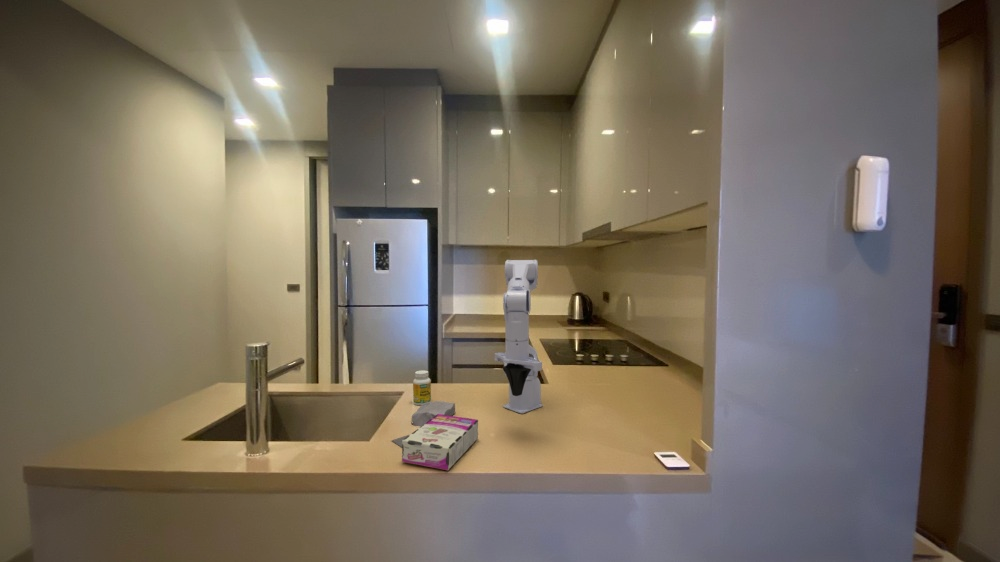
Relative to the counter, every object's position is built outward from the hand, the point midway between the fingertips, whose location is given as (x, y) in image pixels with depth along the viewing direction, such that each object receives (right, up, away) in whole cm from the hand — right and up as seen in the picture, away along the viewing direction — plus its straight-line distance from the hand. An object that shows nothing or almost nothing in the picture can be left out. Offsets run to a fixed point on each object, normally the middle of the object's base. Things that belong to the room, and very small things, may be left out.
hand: (517, 394), depth 97 cm
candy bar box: (-14, -8, +1) cm, 16 cm away
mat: (-21, -11, -3) cm, 24 cm away
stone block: (-23, -11, +12) cm, 28 cm away
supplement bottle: (-28, -10, +25) cm, 39 cm away
